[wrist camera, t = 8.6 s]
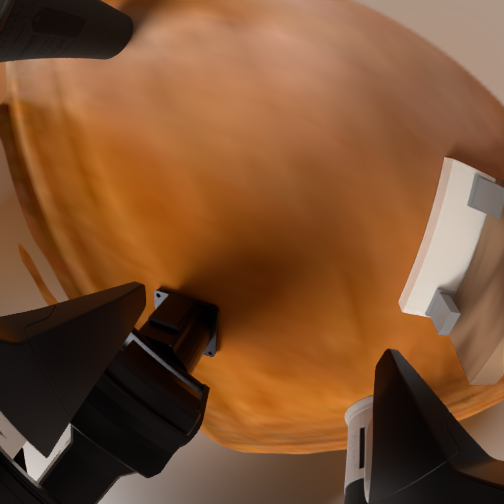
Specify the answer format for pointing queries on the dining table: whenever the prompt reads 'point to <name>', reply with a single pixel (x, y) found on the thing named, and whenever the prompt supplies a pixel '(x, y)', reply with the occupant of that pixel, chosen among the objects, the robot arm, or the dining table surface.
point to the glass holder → (359, 451)
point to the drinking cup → (61, 29)
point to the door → (482, 307)
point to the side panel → (450, 242)
